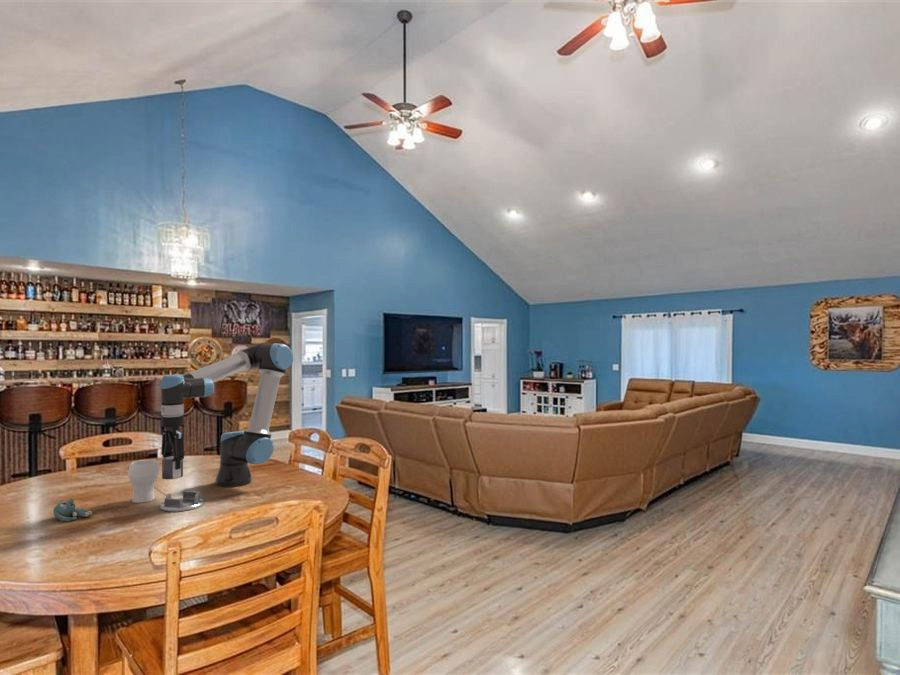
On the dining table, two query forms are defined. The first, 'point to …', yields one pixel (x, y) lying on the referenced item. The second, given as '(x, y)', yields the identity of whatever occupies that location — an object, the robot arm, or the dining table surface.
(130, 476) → the cup
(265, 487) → the dining table surface
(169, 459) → the gray cube
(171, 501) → the grey stand base
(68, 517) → the stuffed animal
